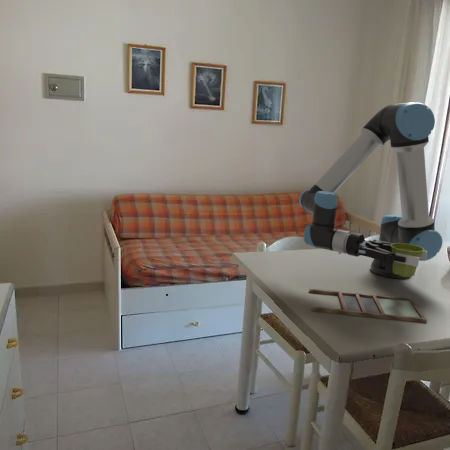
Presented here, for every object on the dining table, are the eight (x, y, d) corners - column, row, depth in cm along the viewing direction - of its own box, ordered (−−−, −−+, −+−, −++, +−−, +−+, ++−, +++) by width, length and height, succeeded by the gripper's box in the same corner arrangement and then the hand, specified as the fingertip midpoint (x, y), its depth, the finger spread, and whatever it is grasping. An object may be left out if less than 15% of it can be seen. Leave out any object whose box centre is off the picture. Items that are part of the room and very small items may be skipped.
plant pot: (382, 268, 132) (386, 241, 130) (412, 269, 132) (416, 243, 130) (393, 278, 123) (397, 250, 121) (425, 280, 123) (429, 252, 121)
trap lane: (411, 301, 137) (411, 298, 137) (426, 322, 122) (426, 319, 122) (309, 291, 142) (309, 288, 142) (311, 311, 126) (312, 307, 126)
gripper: (359, 247, 146) (429, 263, 132) (334, 260, 130) (410, 279, 116) (362, 227, 144) (433, 240, 131) (337, 237, 128) (414, 253, 115)
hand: (422, 258), depth 123 cm, fingers closed on plant pot, 8 cm apart
